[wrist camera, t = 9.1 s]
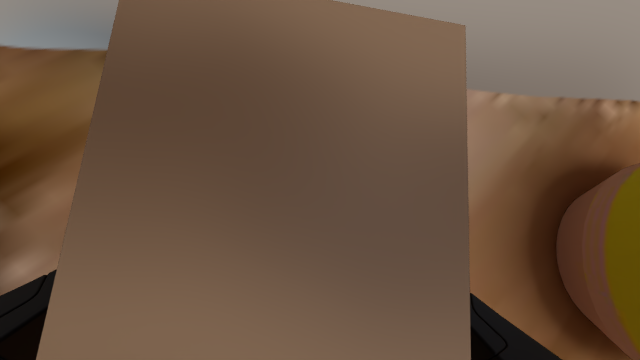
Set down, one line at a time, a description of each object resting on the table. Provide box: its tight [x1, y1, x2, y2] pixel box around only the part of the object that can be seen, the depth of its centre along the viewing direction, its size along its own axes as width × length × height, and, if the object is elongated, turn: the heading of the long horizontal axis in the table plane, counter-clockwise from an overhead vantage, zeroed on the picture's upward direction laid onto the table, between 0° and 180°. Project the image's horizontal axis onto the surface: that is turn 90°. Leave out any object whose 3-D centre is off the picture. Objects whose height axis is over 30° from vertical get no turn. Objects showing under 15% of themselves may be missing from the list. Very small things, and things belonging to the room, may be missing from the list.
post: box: [36, 0, 471, 360], centre depth 11 cm, size 6×6×15 cm
